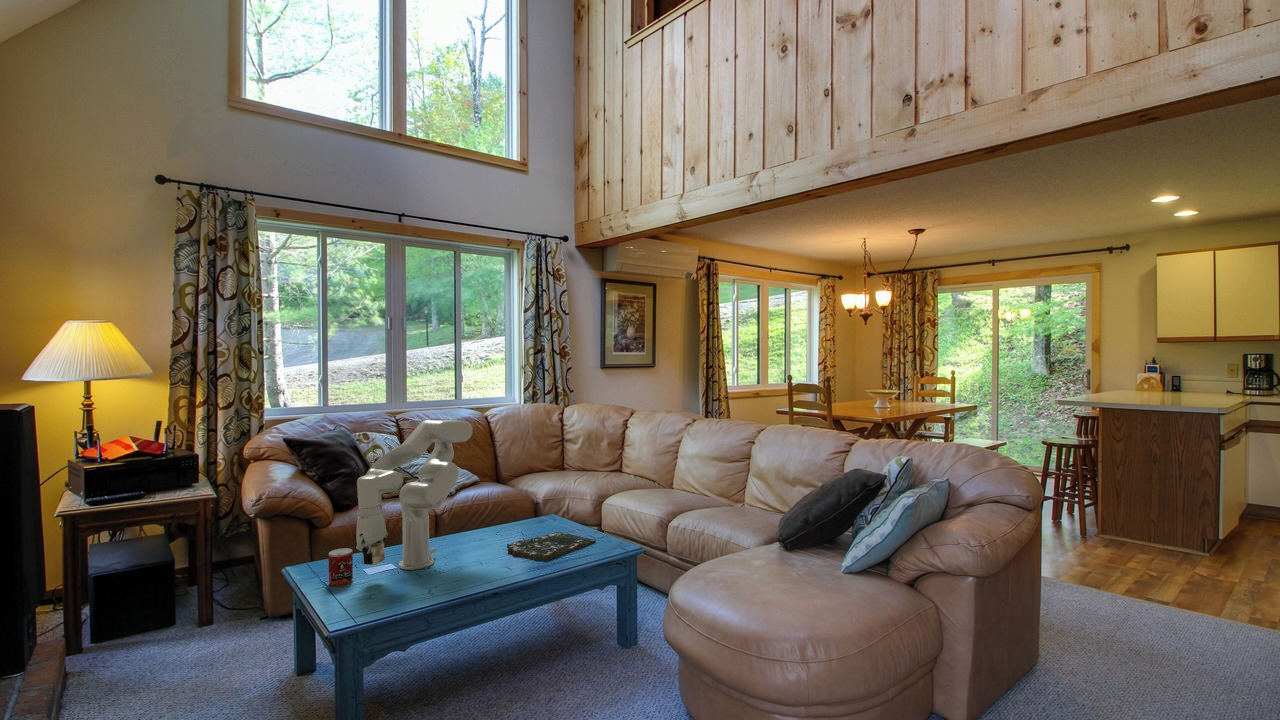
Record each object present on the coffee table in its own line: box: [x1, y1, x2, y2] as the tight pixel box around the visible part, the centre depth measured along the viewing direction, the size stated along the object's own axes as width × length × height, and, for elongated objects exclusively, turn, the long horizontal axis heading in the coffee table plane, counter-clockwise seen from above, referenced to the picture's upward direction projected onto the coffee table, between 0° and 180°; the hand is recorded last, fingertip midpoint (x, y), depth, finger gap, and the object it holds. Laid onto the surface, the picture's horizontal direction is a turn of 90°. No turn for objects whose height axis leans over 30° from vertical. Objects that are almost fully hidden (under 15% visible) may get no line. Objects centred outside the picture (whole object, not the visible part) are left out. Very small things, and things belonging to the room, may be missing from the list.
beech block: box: [361, 542, 386, 566], centre depth 214 cm, size 5×5×6 cm
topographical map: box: [506, 531, 597, 563], centre depth 253 cm, size 26×33×3 cm
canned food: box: [328, 547, 354, 587], centre depth 214 cm, size 8×8×11 cm
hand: (374, 560), depth 214 cm, fingers closed on beech block, 5 cm apart
